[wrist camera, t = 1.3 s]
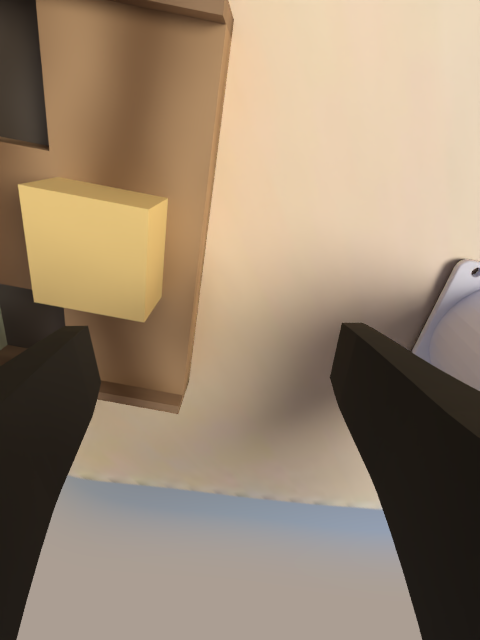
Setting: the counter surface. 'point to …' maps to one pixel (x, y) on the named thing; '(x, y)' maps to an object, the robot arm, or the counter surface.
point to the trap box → (114, 162)
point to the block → (94, 246)
